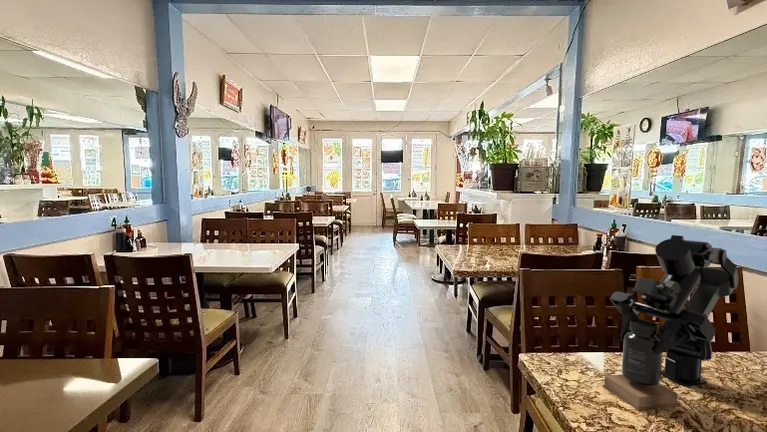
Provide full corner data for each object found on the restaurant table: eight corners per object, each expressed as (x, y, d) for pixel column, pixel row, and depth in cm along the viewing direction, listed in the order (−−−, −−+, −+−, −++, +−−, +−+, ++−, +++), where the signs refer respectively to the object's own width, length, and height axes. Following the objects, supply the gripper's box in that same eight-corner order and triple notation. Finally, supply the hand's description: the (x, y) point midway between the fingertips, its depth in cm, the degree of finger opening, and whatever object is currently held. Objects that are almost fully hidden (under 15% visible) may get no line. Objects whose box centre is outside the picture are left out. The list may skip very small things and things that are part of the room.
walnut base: (639, 383, 89) (640, 372, 88) (678, 405, 79) (679, 393, 79) (602, 386, 87) (603, 375, 87) (638, 410, 78) (638, 397, 77)
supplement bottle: (669, 385, 80) (672, 327, 79) (638, 387, 79) (641, 329, 78) (642, 369, 87) (645, 316, 86) (613, 371, 86) (616, 317, 85)
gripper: (617, 256, 91) (580, 309, 88) (710, 273, 74) (669, 339, 71) (638, 286, 95) (603, 338, 91) (732, 309, 78) (694, 374, 74)
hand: (638, 346), depth 82 cm, fingers closed on supplement bottle, 7 cm apart
